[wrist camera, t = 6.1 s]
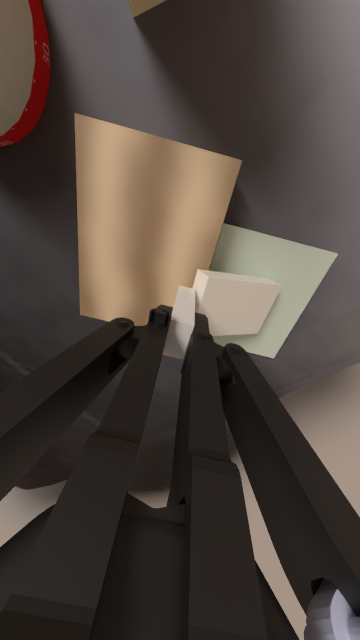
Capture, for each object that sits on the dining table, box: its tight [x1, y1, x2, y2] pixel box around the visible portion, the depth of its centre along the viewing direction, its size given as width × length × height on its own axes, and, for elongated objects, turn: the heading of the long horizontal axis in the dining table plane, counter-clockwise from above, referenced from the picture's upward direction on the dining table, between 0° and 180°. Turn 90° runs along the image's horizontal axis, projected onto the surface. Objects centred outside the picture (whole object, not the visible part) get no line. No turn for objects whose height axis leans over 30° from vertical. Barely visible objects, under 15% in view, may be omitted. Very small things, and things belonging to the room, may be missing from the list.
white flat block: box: [192, 269, 282, 336], centre depth 19 cm, size 9×6×2 cm, turn 78°
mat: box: [209, 223, 338, 358], centre depth 22 cm, size 12×14×1 cm
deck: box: [75, 113, 242, 326], centre depth 19 cm, size 12×16×4 cm
